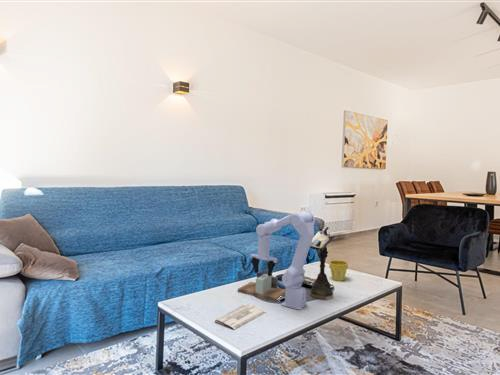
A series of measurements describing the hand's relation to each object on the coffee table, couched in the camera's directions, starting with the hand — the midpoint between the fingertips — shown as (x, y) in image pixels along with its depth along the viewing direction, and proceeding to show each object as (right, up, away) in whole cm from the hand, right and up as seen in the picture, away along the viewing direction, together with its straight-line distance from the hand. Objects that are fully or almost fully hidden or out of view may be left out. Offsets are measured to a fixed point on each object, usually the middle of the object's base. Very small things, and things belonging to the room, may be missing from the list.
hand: (263, 274), depth 181 cm
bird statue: (+28, -11, -4) cm, 30 cm away
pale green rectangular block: (0, -8, -1) cm, 8 cm away
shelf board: (0, -9, +1) cm, 10 cm away
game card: (+1, -9, +14) cm, 17 cm away
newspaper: (-11, -12, -28) cm, 32 cm away
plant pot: (+44, -9, +24) cm, 51 cm away
